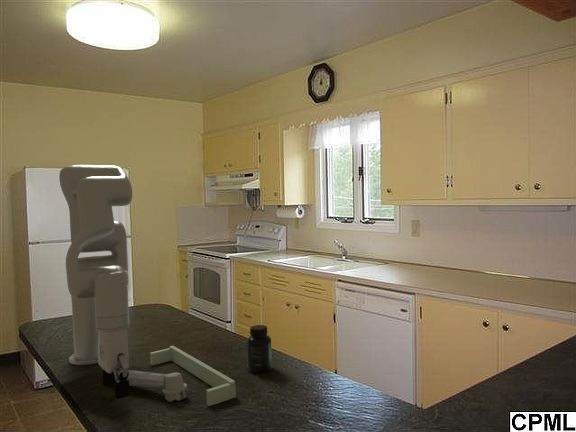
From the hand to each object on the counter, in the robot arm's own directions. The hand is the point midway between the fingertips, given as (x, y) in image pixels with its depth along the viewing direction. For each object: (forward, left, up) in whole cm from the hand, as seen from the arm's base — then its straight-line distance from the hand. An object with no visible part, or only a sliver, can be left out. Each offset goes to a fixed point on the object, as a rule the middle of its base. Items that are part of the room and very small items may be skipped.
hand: (115, 390), depth 112 cm
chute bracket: (0, +19, -2) cm, 19 cm away
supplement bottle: (+7, +38, -2) cm, 38 cm away
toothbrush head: (0, +8, -3) cm, 8 cm away
